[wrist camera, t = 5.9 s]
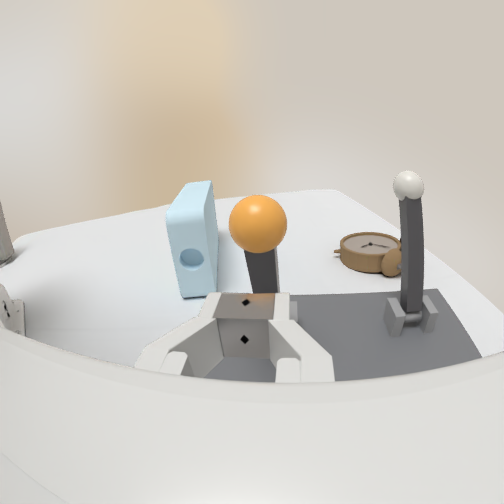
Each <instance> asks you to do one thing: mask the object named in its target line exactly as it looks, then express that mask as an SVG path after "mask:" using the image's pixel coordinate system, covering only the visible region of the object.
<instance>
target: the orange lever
mask: <svg viewBox="0 0 504 504" xmlns="http://www.w3.org/2000/svg"><path fill="white" fill-rule="evenodd" d="M286 230H287V219H286V215H285V212H284V210H283V209H282V207H281V206H280V205H279V204H278V203H277V202H276V201H275V200H273V199H272V198H270V197H267V196H263V195H252V196H249V197H246V198H244V199H242V200H241V201H240V202H238V203H237V204H236V205H235V207H234V208H233V210H232V212H231V214H230V218H229V231H230V234H231V236H232V238H233V240H234V241H235V243H236V244H237V245H238V246H239V247H241V248H242V249H244V253H245V258H246V262H247V267H248V271H249V276H250V281H251V285H252V290H253V294H258V293H275V294H276V293H280V289H279V274H278V259H277V246H278V245H279V244H280V242H281V241H282V240H283V238H284V236H285V233H286Z"/></svg>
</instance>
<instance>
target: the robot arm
mask: <svg viewBox="0 0 504 504" xmlns="http://www.w3.org/2000/svg"><path fill="white" fill-rule="evenodd" d="M224 357H248V358H265V359H270V360H271V362H272V363H273V365H274V366H275V368H276V379H275V382H248V381H232V380H219V379H208V378H203V377H204V376H206V375H207V374H208V373H209V372H210V371H211V370H212V369H213V368H214V367H215V366H216V365H217V364H218V363H219V362H220V361H221V360H222V359H223V358H224ZM0 504H504V351H503V352H500V353H496V354H493V355H490V356H486V357H483V358H479V359H476V360H472V361H468V362H464V363H460V364H456V365H452V366H447V367H442V368H437V369H432V370H427V371H422V372H416V373H410V374H403V375H396V376H389V377H381V378H372V379H362V380H350V381H335V378H334V370H333V362H332V356H331V355H330V354H329V353H328V352H327V351H326V350H325V349H324V348H323V347H321V346H320V345H319V344H318V343H317V342H316V341H315V340H314V339H313V338H312V337H311V336H310V335H309V334H308V333H307V332H306V331H305V330H304V329H303V328H302V327H301V326H299V325H298V324H297V323H296V322H295V321H294V320H290V293H289V292H287V293H276V294H275V293H258V294H249V293H226V292H223V293H222V292H210V293H208V295H207V297H206V299H205V301H204V304H203V306H202V308H201V310H200V313H199V315H198V317H193V318H192V319H190V320H188V321H187V322H185V323H183V324H182V325H180V326H179V327H177V328H175V329H174V330H172V331H170V332H169V333H167V334H165V335H164V336H162V337H160V338H159V339H157V340H155V341H153V342H152V343H150V344H148V345H147V346H145V347H144V349H143V351H142V353H141V354H140V356H139V358H138V360H137V361H136V363H135V365H134V367H129V366H124V365H120V364H115V363H111V362H107V361H102V360H98V359H94V358H91V357H87V356H83V355H80V354H76V353H73V352H69V351H66V350H63V349H59V348H56V347H53V346H50V345H47V344H44V343H41V342H38V341H36V340H33V339H30V338H27V337H25V324H24V303H23V301H22V300H11V299H10V297H9V295H8V293H7V291H6V289H5V287H4V286H3V285H2V284H0Z"/></svg>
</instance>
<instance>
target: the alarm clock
mask: <svg viewBox="0 0 504 504" xmlns="http://www.w3.org/2000/svg"><path fill="white" fill-rule="evenodd" d="M340 247H341V249H339V250H334V253H341V256H340V260H341V261H342V263H343V264H344V265H345V266H347V267H348V268H351V269H354V270H356V271H362V272H382V273H383V274H384V275H386V276H389V277H392V276H396V275H397V274H399V273H400V272H401V238H400V241H399V240H398V239H397V238H395V237H393V236H390V235H387V234H383V233H376V232H361V233H354V234H350V235H348V236H345V237H344V238H343V239H342V240H341V241H340Z"/></svg>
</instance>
